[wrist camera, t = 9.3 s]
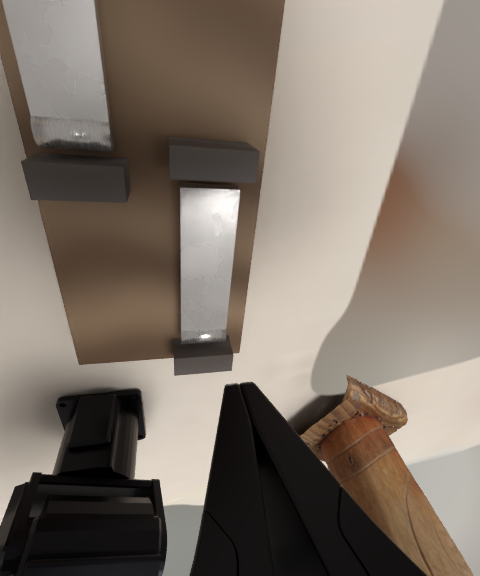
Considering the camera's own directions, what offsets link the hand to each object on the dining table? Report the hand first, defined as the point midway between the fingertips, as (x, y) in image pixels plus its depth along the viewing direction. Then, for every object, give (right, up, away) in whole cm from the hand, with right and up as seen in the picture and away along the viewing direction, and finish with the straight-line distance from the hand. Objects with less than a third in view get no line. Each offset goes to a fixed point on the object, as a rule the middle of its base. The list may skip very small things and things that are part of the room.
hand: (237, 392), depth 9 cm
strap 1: (-2, +4, +10) cm, 11 cm away
